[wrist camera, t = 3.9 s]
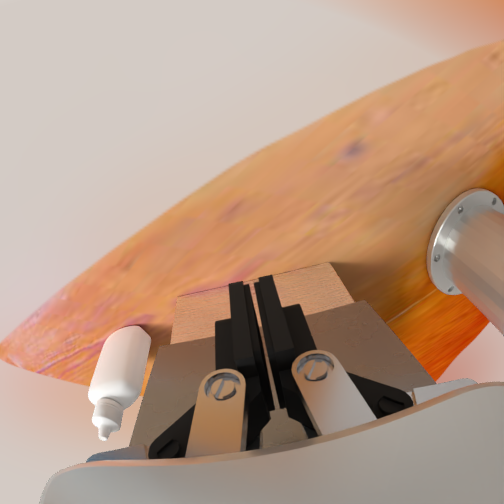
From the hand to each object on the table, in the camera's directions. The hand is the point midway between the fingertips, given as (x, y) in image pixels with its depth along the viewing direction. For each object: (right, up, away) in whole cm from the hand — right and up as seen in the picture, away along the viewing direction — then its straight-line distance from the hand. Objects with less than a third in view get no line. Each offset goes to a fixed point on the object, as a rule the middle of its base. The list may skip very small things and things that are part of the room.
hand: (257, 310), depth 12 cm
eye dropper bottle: (-13, -7, +18) cm, 23 cm away
